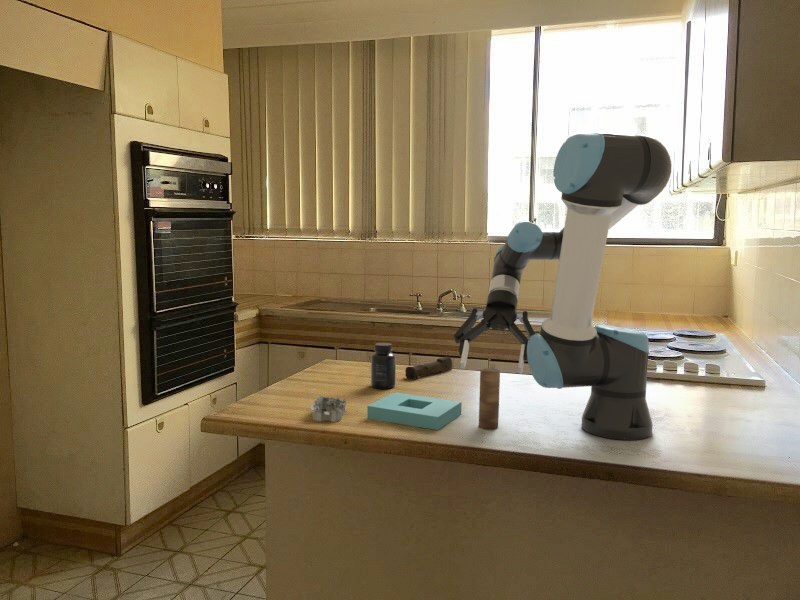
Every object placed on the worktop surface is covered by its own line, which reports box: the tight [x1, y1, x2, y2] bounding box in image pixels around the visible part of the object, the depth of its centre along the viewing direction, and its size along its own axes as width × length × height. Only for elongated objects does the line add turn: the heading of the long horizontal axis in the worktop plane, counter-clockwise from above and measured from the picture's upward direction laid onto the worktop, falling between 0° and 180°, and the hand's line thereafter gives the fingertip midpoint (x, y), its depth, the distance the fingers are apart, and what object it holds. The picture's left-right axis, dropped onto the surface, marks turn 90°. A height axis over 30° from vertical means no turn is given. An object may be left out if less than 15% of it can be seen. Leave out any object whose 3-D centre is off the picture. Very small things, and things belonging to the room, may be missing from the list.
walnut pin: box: [478, 367, 501, 431], centre depth 150 cm, size 4×4×13 cm
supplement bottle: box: [370, 342, 397, 390], centre depth 185 cm, size 7×7×12 cm
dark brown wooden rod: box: [405, 356, 453, 380], centre depth 200 cm, size 19×4×5 cm, turn 132°
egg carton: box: [310, 395, 347, 423], centre depth 158 cm, size 11×8×4 cm
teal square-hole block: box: [366, 391, 463, 431], centre depth 158 cm, size 18×14×3 cm
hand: (491, 368), depth 156 cm, fingers open, 13 cm apart
